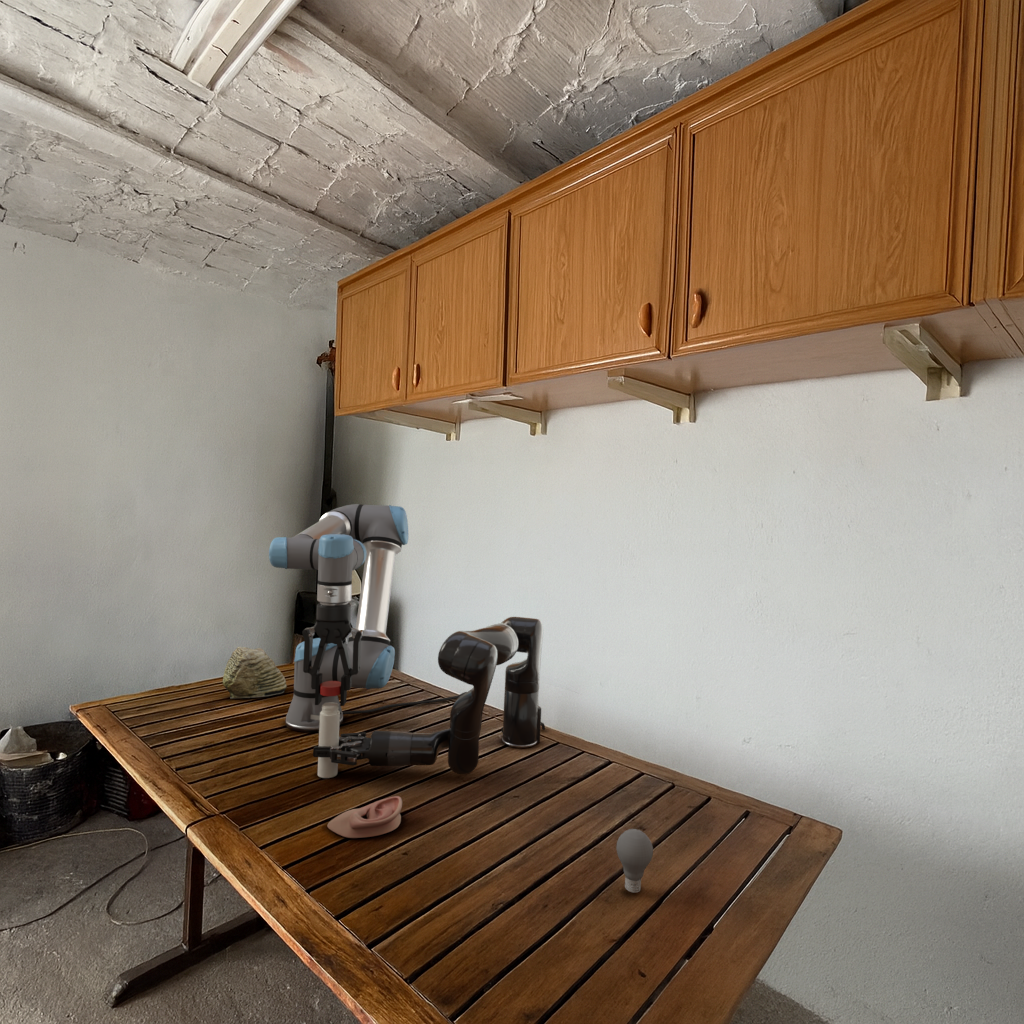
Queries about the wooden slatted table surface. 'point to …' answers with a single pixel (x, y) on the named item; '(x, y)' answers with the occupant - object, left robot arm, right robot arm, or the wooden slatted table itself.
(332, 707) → the white bottle
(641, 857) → the light bulb
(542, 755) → the wooden slatted table surface
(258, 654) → the fossil
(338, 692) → the lid
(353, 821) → the anatomical model
